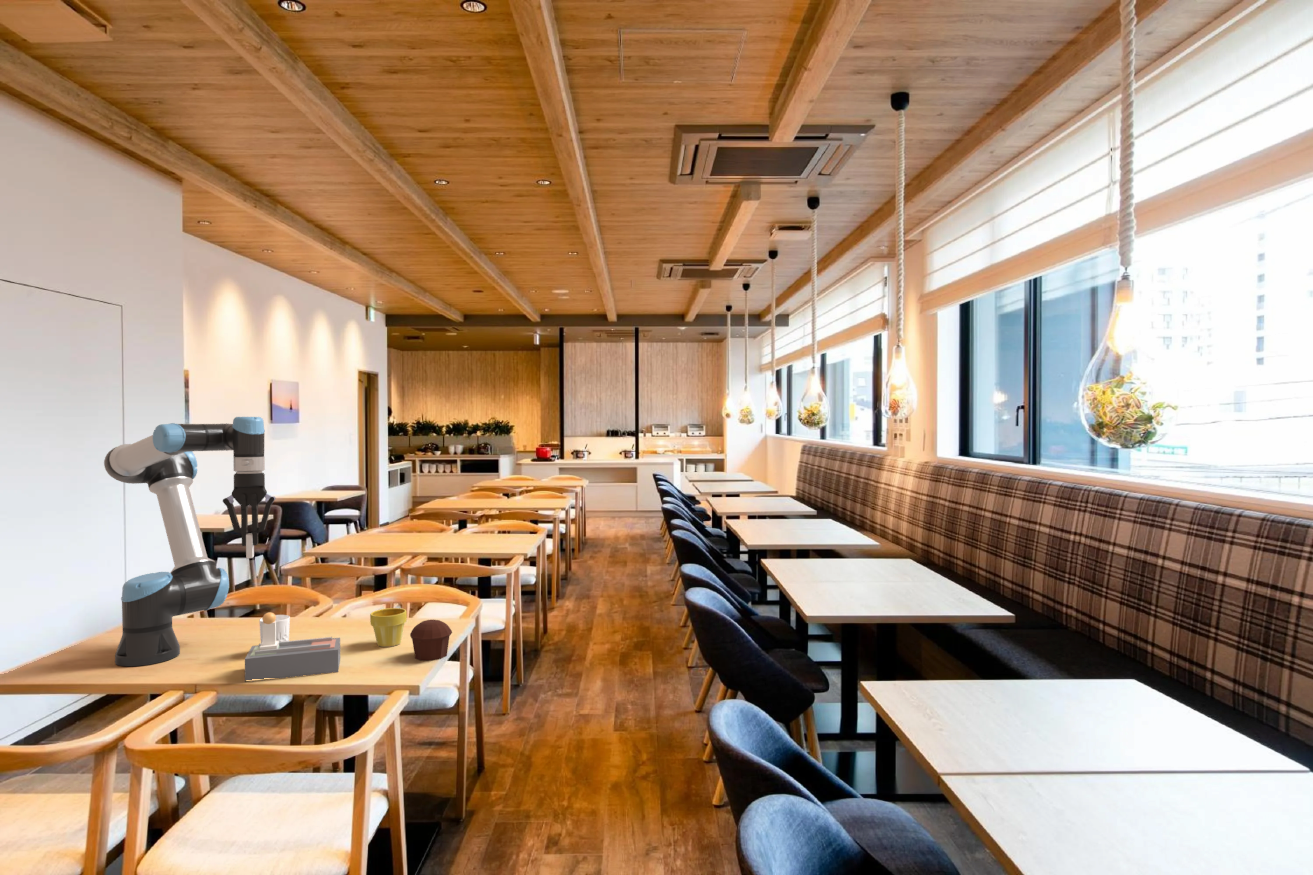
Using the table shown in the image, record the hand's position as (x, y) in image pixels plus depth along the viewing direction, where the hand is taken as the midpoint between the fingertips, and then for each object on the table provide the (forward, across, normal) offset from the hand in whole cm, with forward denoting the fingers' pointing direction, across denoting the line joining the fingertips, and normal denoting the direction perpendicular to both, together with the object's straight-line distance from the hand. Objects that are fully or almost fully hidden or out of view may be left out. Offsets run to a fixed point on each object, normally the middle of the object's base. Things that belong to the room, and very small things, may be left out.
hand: (250, 557), depth 204 cm
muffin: (+30, +47, -12) cm, 57 cm away
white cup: (+30, +5, +8) cm, 31 cm away
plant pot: (+30, +36, +5) cm, 47 cm away
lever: (+23, +6, -11) cm, 27 cm away
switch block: (+29, +12, -11) cm, 34 cm away
